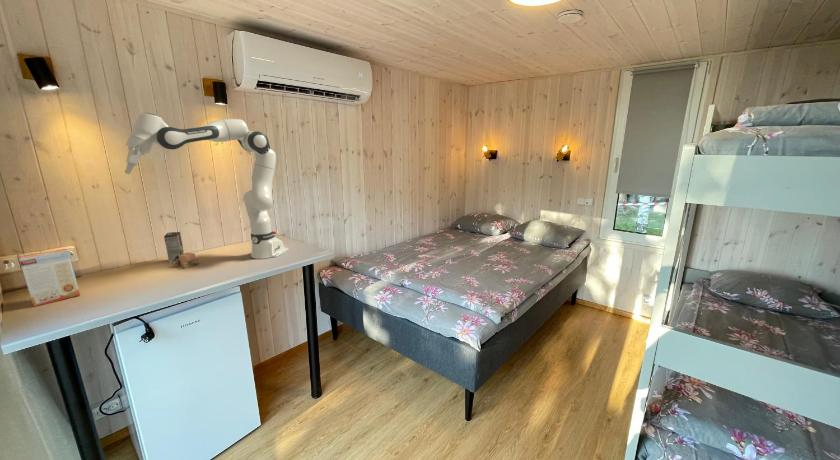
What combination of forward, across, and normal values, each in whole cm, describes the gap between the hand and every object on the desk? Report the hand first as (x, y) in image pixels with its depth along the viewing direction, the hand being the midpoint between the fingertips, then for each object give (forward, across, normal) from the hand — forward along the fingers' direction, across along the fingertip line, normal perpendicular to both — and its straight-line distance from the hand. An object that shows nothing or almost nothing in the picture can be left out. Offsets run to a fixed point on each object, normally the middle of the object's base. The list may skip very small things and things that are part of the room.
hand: (126, 173), depth 156 cm
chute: (+40, +9, -36) cm, 54 cm away
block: (+37, +12, -39) cm, 55 cm away
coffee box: (+40, +27, -36) cm, 60 cm away
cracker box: (+61, -2, +5) cm, 61 cm away
